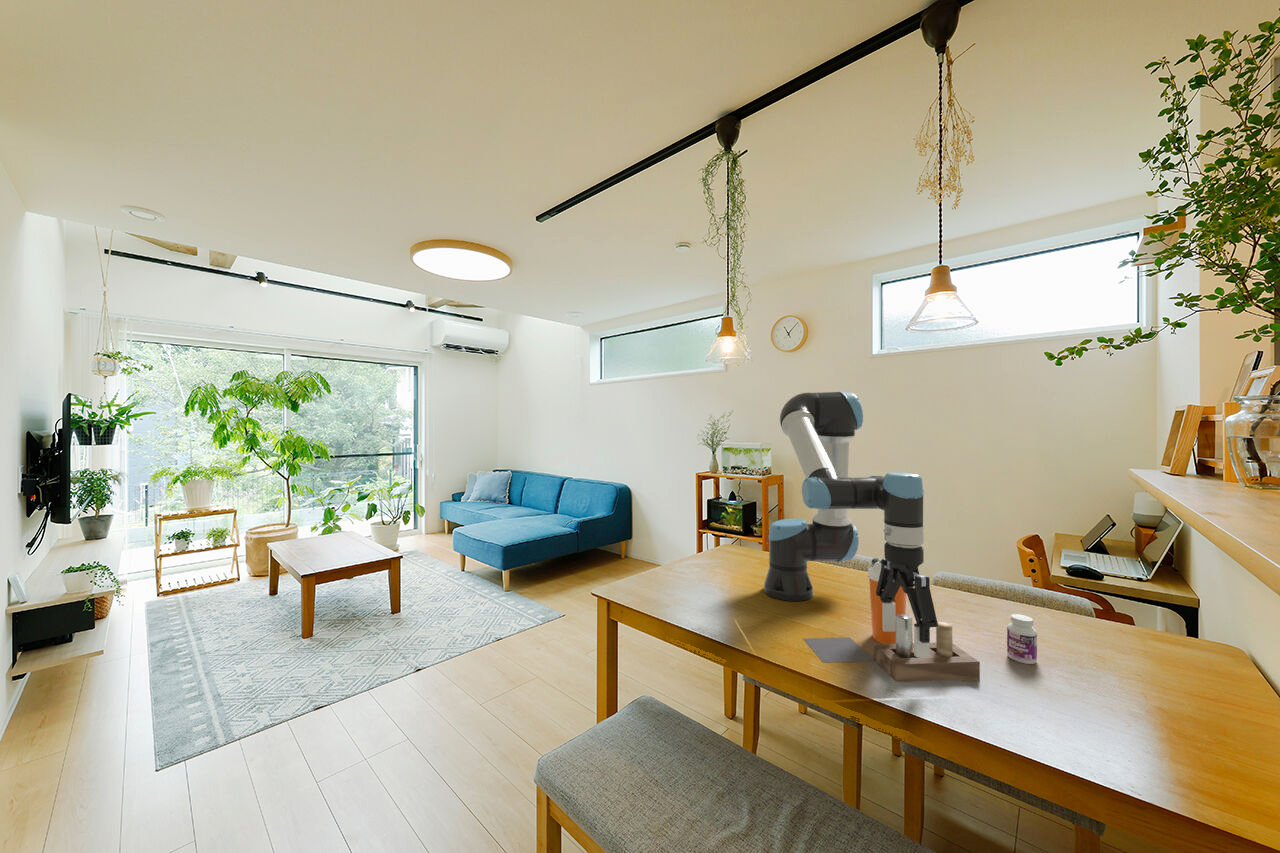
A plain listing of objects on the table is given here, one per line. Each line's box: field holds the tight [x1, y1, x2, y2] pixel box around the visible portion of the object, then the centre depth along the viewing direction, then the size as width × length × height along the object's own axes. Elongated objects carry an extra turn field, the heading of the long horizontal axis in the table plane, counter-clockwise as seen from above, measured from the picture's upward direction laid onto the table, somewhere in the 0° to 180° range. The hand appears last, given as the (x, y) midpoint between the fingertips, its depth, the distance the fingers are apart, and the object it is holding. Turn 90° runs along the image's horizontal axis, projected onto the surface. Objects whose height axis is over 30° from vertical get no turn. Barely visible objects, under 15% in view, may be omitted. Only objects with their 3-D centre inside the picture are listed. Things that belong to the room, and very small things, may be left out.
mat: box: [803, 636, 875, 664], centre depth 113 cm, size 12×12×1 cm
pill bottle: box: [1006, 613, 1038, 665], centre depth 108 cm, size 5×5×10 cm
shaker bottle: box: [867, 557, 907, 644], centre depth 118 cm, size 9×9×20 cm
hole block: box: [873, 642, 981, 683], centre depth 104 cm, size 9×18×4 cm, turn 92°
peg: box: [896, 614, 914, 658], centre depth 103 cm, size 3×3×12 cm
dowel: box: [935, 621, 953, 657], centre depth 104 cm, size 3×3×10 cm
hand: (904, 642), depth 103 cm, fingers open, 11 cm apart
